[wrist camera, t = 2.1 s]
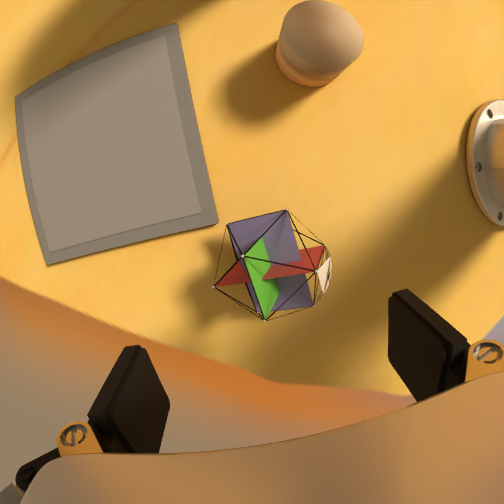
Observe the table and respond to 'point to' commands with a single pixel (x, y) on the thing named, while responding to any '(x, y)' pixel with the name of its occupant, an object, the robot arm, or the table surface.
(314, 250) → the geometric puzzle
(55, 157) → the felt mat
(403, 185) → the table surface
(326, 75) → the tan rounded cylinder
